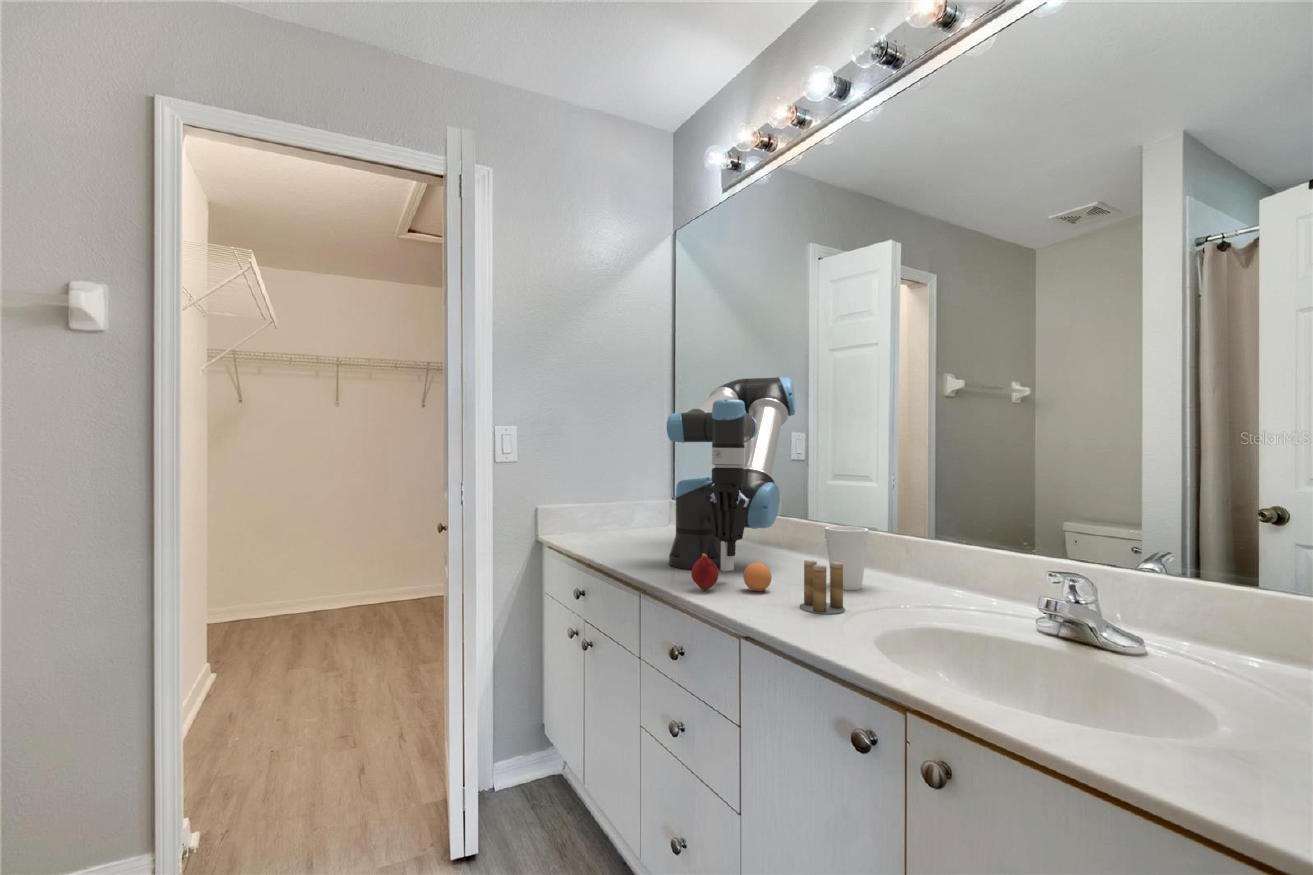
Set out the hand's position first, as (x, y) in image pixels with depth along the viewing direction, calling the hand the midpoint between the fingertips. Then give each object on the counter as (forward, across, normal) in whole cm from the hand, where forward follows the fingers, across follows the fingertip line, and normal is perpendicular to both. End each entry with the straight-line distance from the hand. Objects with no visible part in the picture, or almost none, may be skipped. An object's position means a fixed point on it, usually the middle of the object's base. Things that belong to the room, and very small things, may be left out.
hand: (727, 569), depth 137 cm
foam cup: (+3, +18, +20) cm, 27 cm away
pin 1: (+3, +28, -2) cm, 28 cm away
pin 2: (+3, +28, +3) cm, 29 cm away
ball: (0, +9, 0) cm, 9 cm away
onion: (+3, +3, -9) cm, 10 cm away
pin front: (+3, +24, 0) cm, 24 cm away
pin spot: (+3, +27, 0) cm, 27 cm away
